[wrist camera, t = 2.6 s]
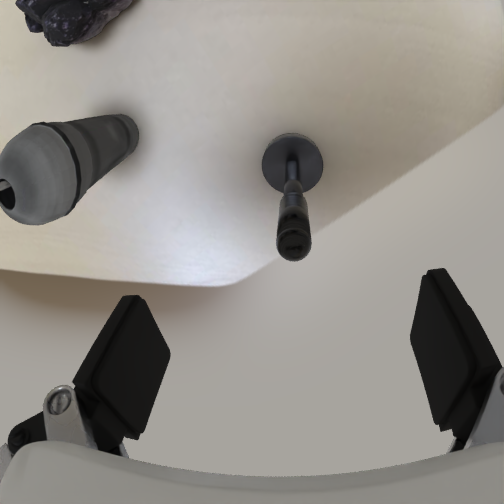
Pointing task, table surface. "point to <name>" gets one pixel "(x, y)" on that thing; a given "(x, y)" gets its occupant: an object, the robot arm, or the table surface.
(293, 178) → the disc-capped black rod
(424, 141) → the table surface
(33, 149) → the beverage cup
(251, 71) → the table surface
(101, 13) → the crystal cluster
